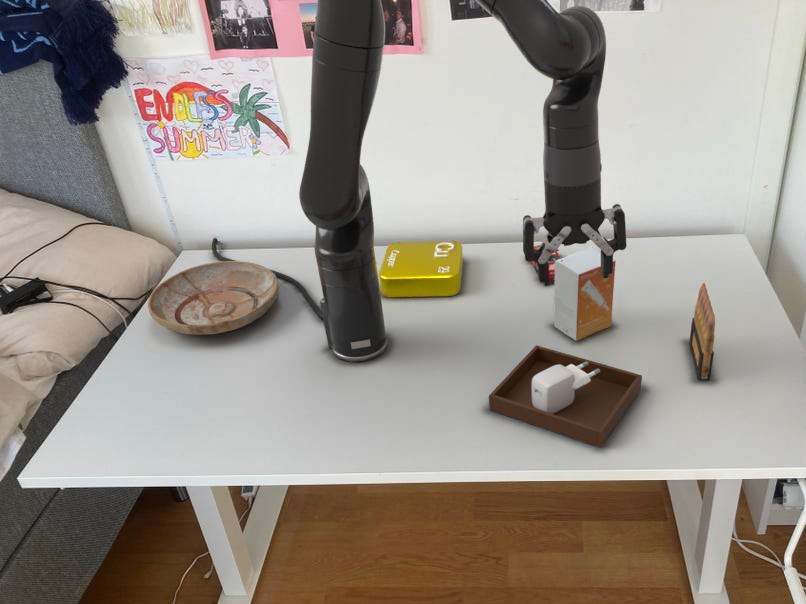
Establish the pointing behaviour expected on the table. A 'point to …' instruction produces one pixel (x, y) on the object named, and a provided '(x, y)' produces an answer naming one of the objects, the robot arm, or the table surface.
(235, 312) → the ceramic bowl
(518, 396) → the tray
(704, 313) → the ammunition clip
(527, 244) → the robot arm
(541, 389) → the power adapter
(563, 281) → the small box
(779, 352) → the table surface
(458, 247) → the element tile
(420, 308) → the table surface
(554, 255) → the race car
